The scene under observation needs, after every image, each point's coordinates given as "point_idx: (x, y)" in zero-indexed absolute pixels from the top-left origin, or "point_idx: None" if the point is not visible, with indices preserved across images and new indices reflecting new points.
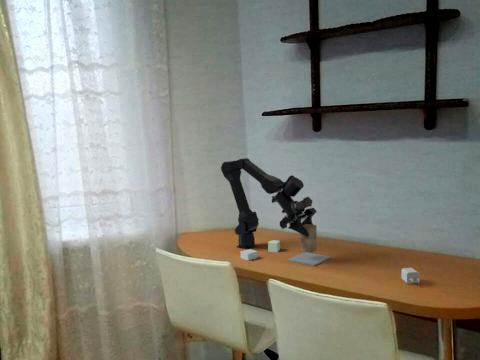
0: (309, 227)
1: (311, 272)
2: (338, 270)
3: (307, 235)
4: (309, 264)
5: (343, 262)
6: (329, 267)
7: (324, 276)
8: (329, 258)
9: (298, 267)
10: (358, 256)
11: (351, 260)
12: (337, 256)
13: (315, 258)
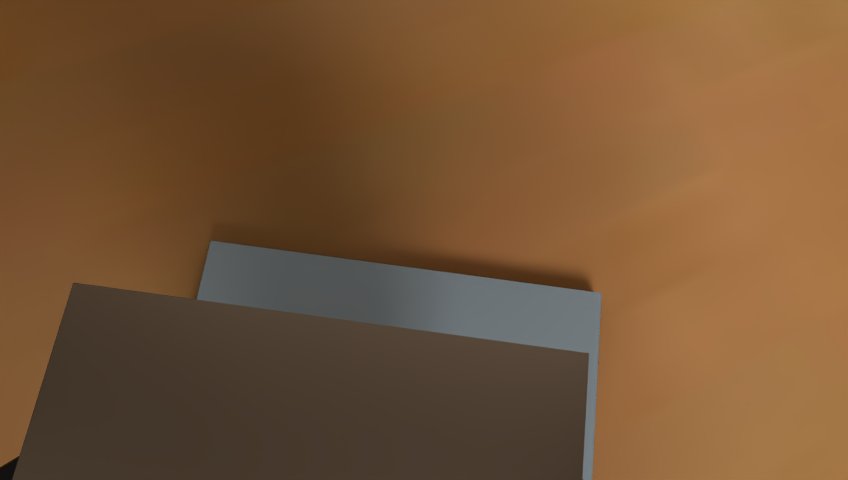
0: (587, 380)
1: (790, 234)
2: (577, 29)
3: None
4: (594, 359)
5: (308, 71)
6: (538, 135)
7: (810, 77)
8: (242, 247)
9: (734, 451)
10: (35, 9)
11: (206, 26)
12: (109, 204)
13: None
